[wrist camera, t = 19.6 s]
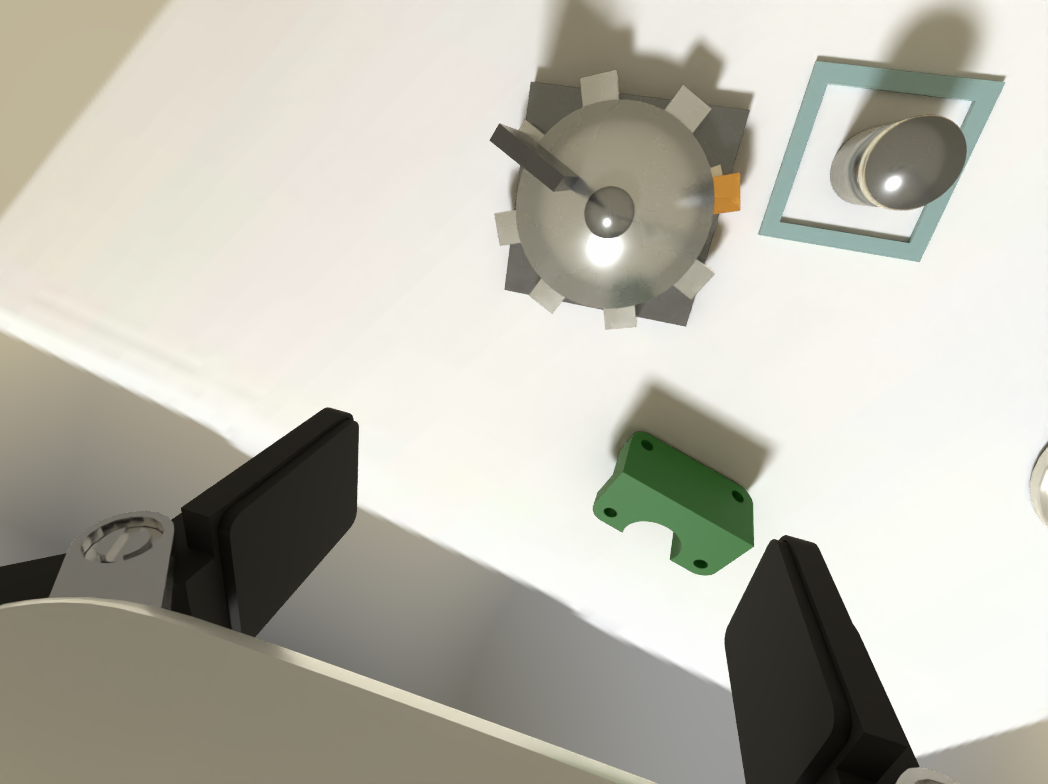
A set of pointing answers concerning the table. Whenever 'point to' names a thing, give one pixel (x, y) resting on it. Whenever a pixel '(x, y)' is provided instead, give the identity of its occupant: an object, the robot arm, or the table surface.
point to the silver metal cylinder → (900, 163)
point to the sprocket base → (713, 134)
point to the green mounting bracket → (678, 503)
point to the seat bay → (887, 80)
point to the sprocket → (614, 201)
